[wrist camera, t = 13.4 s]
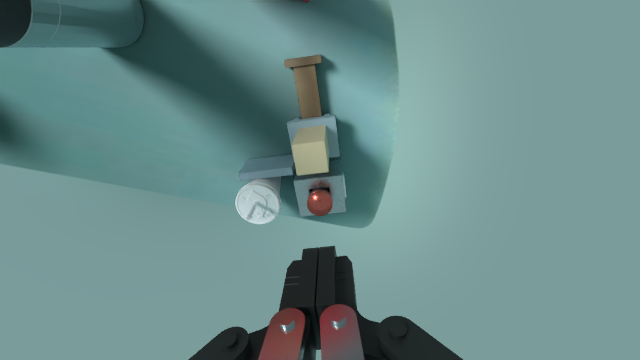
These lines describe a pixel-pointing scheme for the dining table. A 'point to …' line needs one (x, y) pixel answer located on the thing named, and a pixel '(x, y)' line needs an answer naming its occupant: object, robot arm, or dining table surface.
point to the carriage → (299, 150)
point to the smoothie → (260, 200)
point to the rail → (306, 85)
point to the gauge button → (320, 201)
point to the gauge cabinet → (322, 180)
